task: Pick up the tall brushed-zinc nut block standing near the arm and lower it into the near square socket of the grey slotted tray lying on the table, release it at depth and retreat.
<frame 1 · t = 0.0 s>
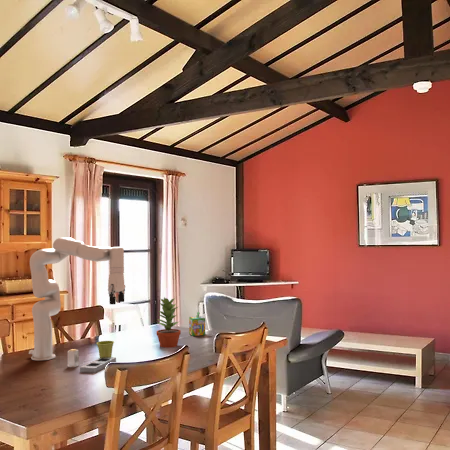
hand: (117, 303, 274), 31 cm above the table, tool pointing down, fingers open, 9 cm apart
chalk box: (197, 335, 346), on the table
plant pot: (105, 358, 283), on the table
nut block: (73, 366, 267), on the table
grey slotted tray: (98, 367, 264), on the table
potted plant: (168, 346, 313), on the table
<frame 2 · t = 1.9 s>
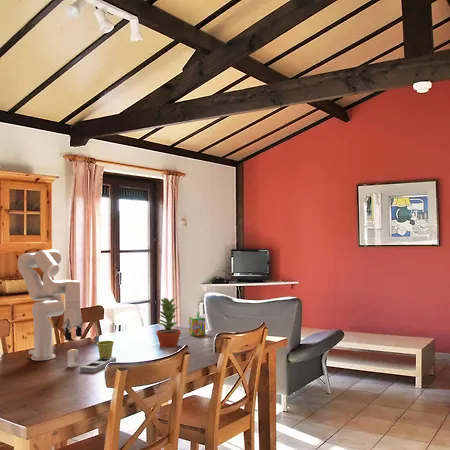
hand: (73, 338, 267), 14 cm above the table, tool pointing down, fingers open, 9 cm apart
nothing on the table moved.
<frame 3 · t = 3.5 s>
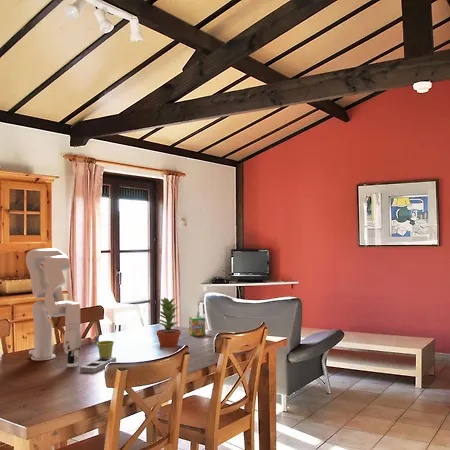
hand: (73, 362, 267), 2 cm above the table, tool pointing down, fingers closed on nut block, 4 cm apart
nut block: (73, 366, 267), on the table, touching gripper
everything else where it was.
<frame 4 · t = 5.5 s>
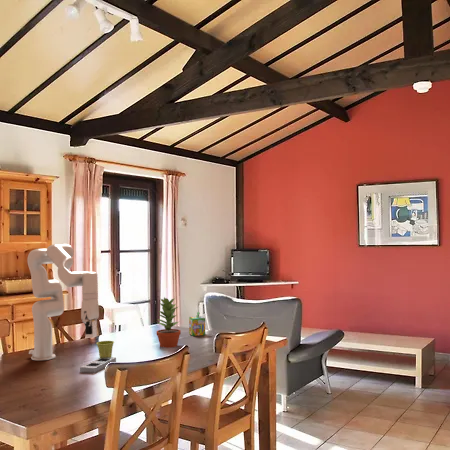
hand: (91, 332, 260), 18 cm above the table, tool pointing down, fingers closed on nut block, 4 cm apart
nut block: (91, 337, 260), point 16 cm above the table, touching gripper
everything else where it was.
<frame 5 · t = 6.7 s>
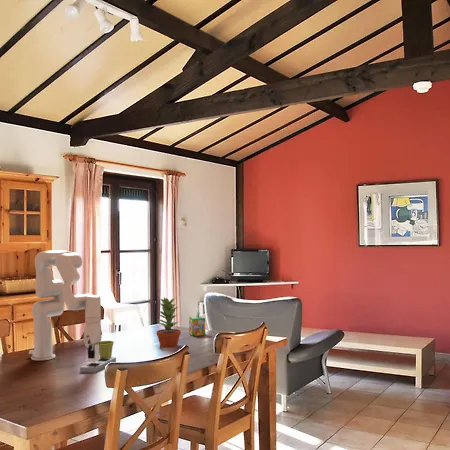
hand: (93, 356, 259), 6 cm above the table, tool pointing down, fingers closed on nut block, 4 cm apart
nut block: (93, 360, 259), point 4 cm above the table, touching gripper
everything else where it was.
when the fingers open (3 cm above the table, at t = 7.7 s): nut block drops 1 cm, resting in grey slotted tray.
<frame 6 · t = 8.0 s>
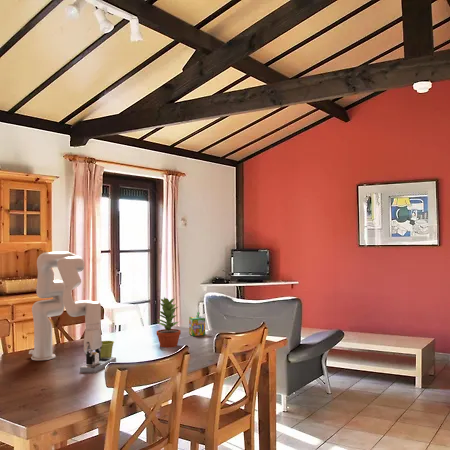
hand: (93, 362, 259), 4 cm above the table, tool pointing down, fingers open, 7 cm apart
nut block: (93, 369, 259), resting in grey slotted tray
everything else where it was.
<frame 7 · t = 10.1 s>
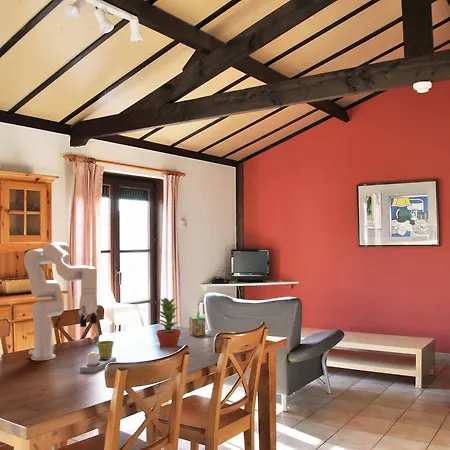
hand: (88, 325, 264), 22 cm above the table, tool pointing down, fingers open, 9 cm apart
nothing on the table moved.
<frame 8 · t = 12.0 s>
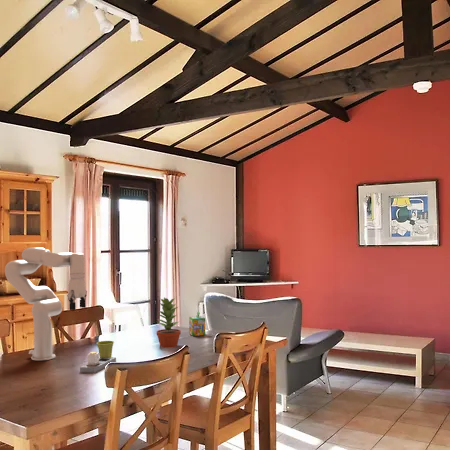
hand: (77, 308, 276), 28 cm above the table, tool pointing down, fingers open, 9 cm apart
nothing on the table moved.
at the end: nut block 0.1 cm from the target spot on the grey slotted tray, point 0.0 cm above the grey slotted tray's base; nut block tilted 0°; the gripper is holding nothing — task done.
